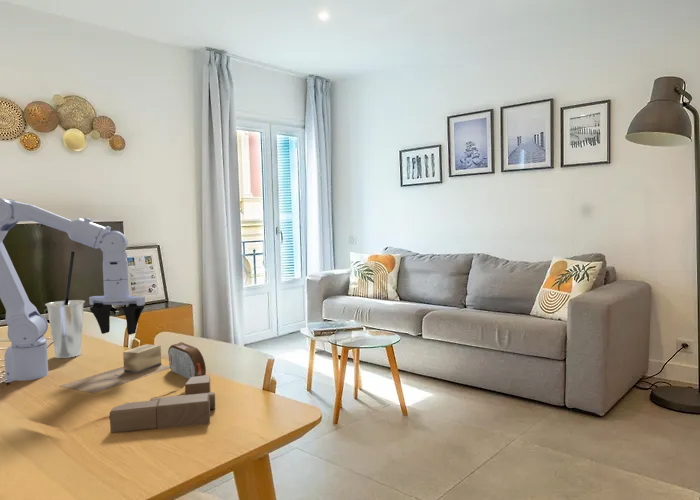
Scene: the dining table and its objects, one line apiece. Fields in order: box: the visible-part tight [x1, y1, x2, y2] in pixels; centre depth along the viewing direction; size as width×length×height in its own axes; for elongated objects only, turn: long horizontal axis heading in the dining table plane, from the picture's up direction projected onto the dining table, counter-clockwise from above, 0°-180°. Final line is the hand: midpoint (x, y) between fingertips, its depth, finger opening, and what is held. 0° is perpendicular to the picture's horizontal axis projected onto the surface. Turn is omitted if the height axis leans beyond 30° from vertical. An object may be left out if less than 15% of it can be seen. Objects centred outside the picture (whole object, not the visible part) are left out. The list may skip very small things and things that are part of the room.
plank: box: [59, 364, 170, 394], centre depth 125 cm, size 12×22×1 cm, turn 152°
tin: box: [167, 341, 207, 380], centre depth 124 cm, size 15×3×8 cm, turn 42°
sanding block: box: [122, 343, 162, 373], centre depth 131 cm, size 4×8×5 cm, turn 160°
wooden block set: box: [109, 374, 216, 434], centre depth 103 cm, size 17×6×18 cm
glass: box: [44, 251, 86, 359], centre depth 149 cm, size 11×11×30 cm
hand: (118, 333), depth 131 cm, fingers open, 7 cm apart
